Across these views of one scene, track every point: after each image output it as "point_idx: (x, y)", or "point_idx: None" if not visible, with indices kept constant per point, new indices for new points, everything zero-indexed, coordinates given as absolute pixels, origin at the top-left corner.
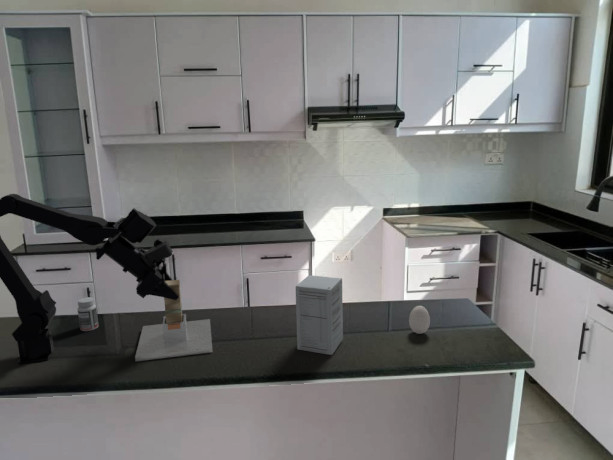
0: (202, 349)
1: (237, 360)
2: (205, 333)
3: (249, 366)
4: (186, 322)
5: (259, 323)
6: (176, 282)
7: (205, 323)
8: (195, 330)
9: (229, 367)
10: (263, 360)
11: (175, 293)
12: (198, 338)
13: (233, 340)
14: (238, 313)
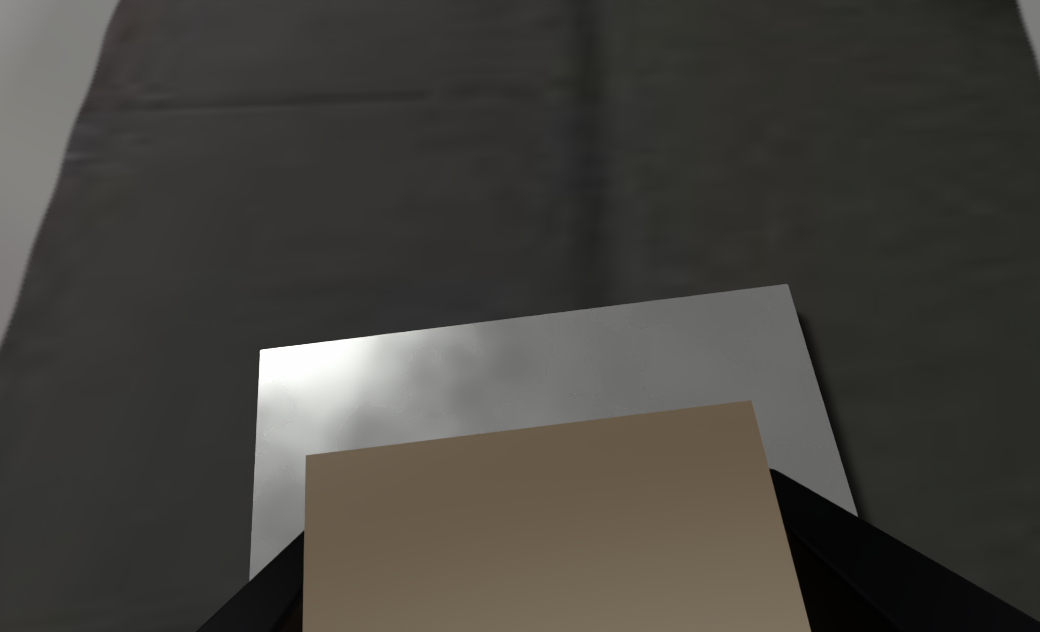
0: (806, 350)
1: (882, 149)
2: (535, 356)
3: (950, 88)
4: (274, 546)
5: (373, 59)
6: (553, 505)
7: (340, 376)
8: None
9: (975, 185)
10: (872, 29)
11: (850, 514)
12: (623, 399)
13: (603, 186)
14: (163, 182)
